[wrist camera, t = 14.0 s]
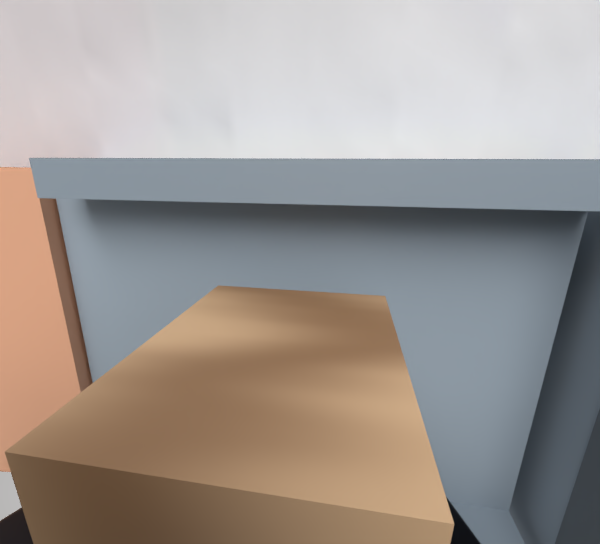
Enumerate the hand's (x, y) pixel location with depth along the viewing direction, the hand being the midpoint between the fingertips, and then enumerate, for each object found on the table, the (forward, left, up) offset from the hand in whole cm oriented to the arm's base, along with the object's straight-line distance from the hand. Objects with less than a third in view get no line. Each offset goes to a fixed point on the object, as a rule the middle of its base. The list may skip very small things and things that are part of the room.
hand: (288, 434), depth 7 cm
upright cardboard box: (0, 0, -1) cm, 1 cm away
